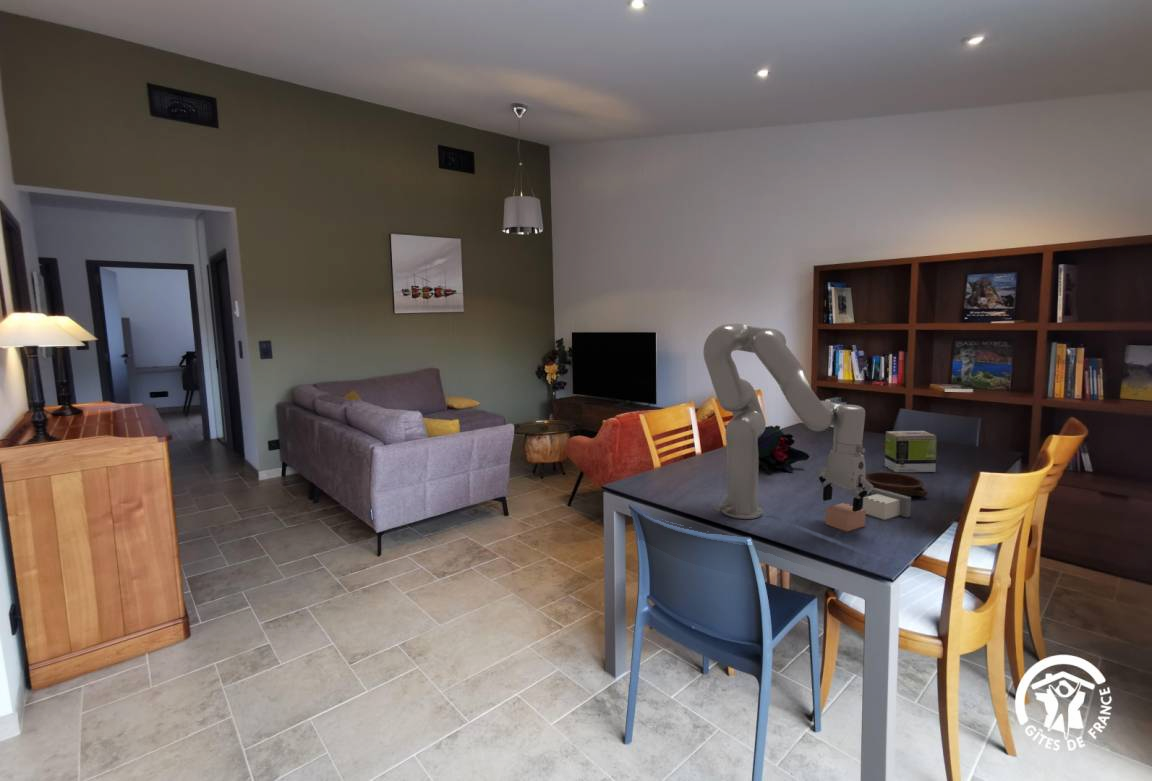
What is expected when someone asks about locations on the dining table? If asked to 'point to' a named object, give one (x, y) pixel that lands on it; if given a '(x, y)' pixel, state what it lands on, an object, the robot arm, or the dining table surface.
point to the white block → (886, 504)
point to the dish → (896, 483)
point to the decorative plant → (778, 450)
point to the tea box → (910, 451)
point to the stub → (845, 517)
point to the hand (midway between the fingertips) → (841, 505)
